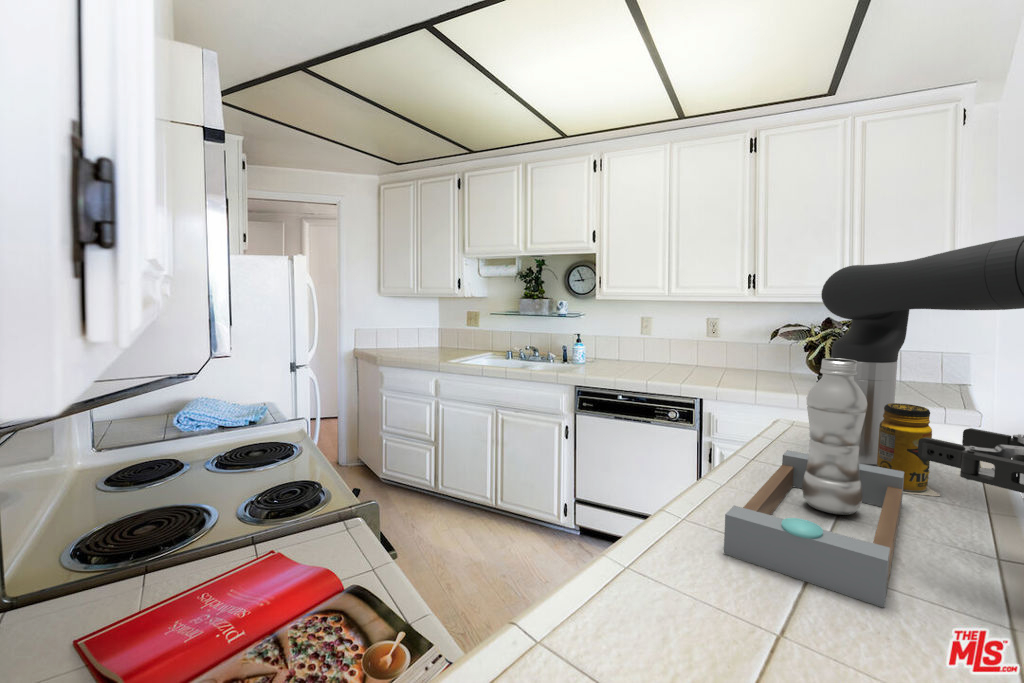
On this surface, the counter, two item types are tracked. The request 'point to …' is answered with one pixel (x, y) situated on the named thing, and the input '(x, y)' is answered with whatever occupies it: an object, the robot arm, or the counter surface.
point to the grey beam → (870, 476)
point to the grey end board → (809, 553)
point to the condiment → (905, 445)
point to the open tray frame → (783, 482)
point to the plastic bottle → (835, 439)
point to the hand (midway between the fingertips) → (942, 442)
